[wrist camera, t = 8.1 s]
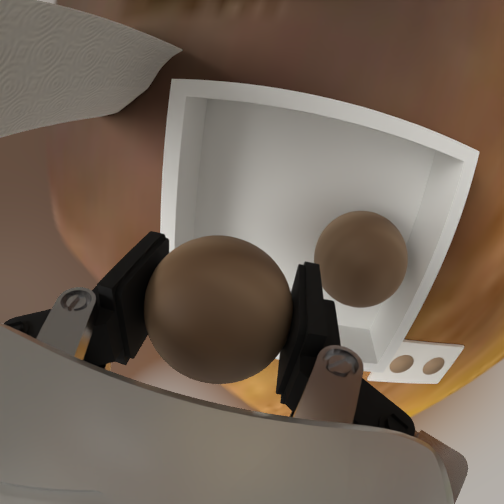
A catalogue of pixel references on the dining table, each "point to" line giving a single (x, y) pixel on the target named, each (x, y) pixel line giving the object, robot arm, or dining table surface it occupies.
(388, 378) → the card
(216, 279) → the walnut ball
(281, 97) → the bin
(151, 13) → the dining table surface
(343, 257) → the ball
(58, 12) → the paper towel roll
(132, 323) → the robot arm
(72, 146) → the dining table surface
